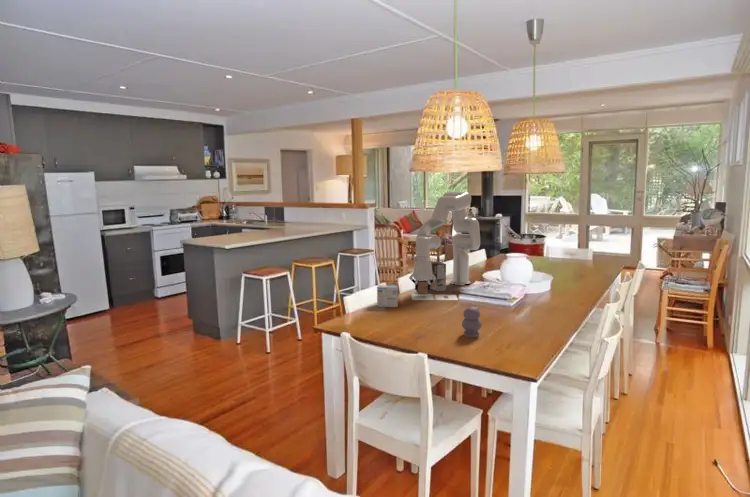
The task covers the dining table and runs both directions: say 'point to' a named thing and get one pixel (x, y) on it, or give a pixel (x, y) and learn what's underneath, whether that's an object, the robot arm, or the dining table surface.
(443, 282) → the coffee box
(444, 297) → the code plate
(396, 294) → the light bulb box
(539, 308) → the dining table surface
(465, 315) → the cat figurine
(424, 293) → the walnut block
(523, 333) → the dining table surface
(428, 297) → the sage mat
